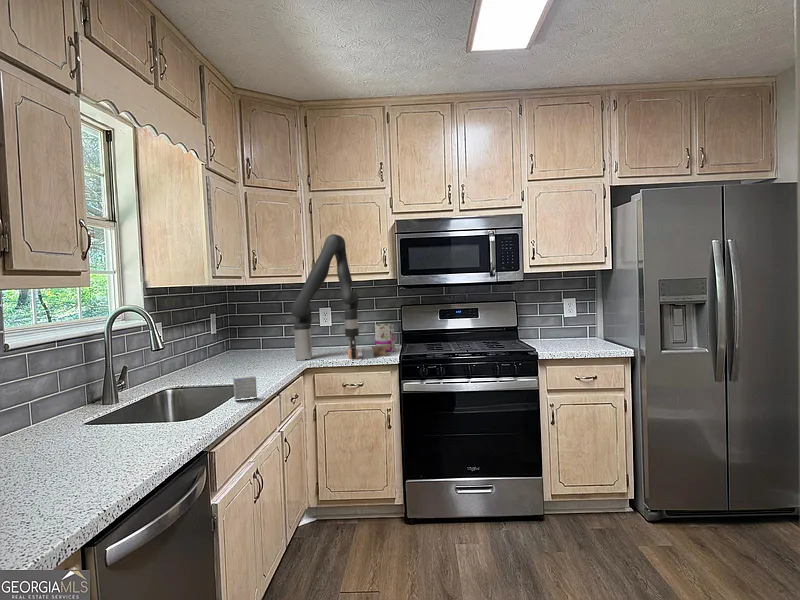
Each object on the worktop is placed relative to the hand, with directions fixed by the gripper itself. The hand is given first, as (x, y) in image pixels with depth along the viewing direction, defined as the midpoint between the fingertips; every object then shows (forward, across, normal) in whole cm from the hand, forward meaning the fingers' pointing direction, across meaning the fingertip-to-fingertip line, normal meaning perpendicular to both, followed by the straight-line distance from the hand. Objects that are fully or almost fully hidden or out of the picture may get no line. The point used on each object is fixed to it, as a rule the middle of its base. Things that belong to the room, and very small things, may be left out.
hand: (353, 357), depth 304 cm
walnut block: (+1, -5, +15) cm, 16 cm away
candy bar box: (+1, -21, +21) cm, 30 cm away
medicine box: (+1, +89, -48) cm, 101 cm away
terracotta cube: (+1, 0, 0) cm, 1 cm away
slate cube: (+1, +2, +8) cm, 8 cm away
